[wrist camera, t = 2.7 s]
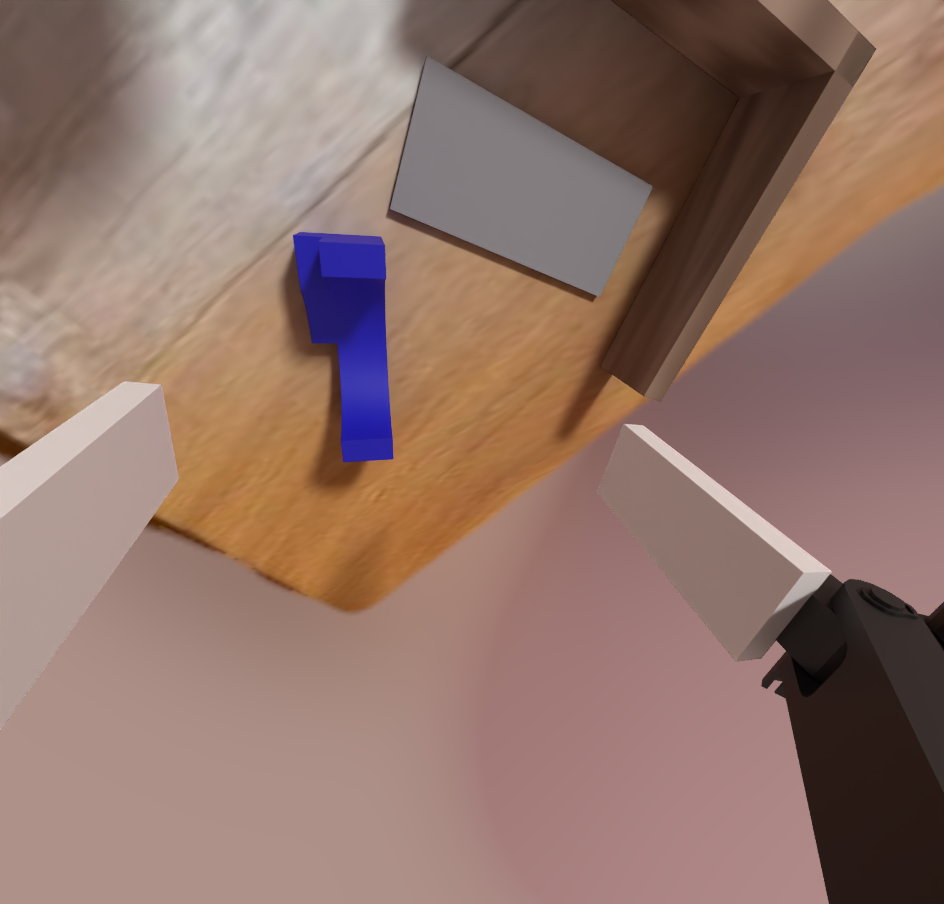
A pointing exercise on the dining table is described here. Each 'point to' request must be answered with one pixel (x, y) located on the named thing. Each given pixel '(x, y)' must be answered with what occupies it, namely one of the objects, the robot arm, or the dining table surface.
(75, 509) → the robot arm
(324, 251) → the blue curved block
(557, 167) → the grey mat
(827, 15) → the corner walls
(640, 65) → the dining table surface
